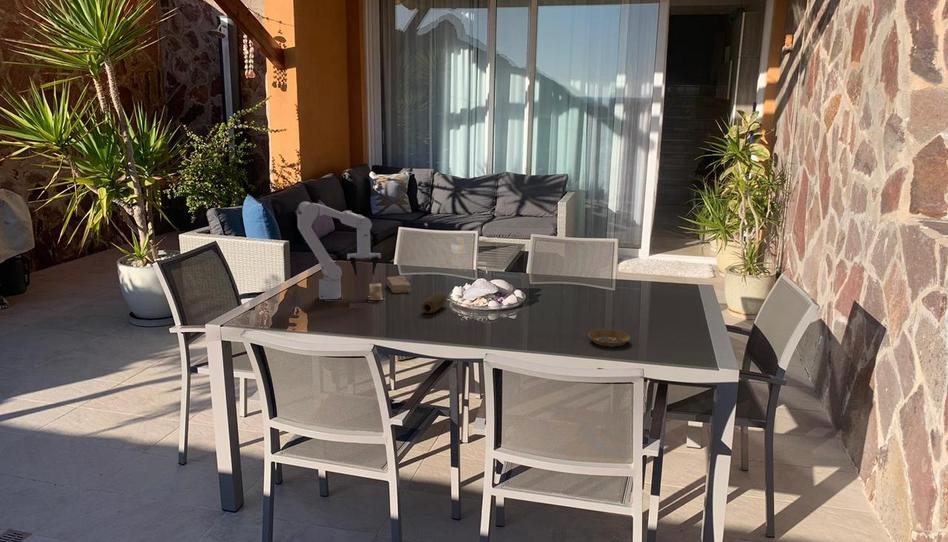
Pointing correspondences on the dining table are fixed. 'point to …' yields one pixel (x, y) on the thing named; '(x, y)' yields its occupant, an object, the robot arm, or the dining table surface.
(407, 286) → the brick
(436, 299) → the brown hollow tube
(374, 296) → the birch block
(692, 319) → the dining table surface
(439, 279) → the dining table surface
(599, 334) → the plant saucer
